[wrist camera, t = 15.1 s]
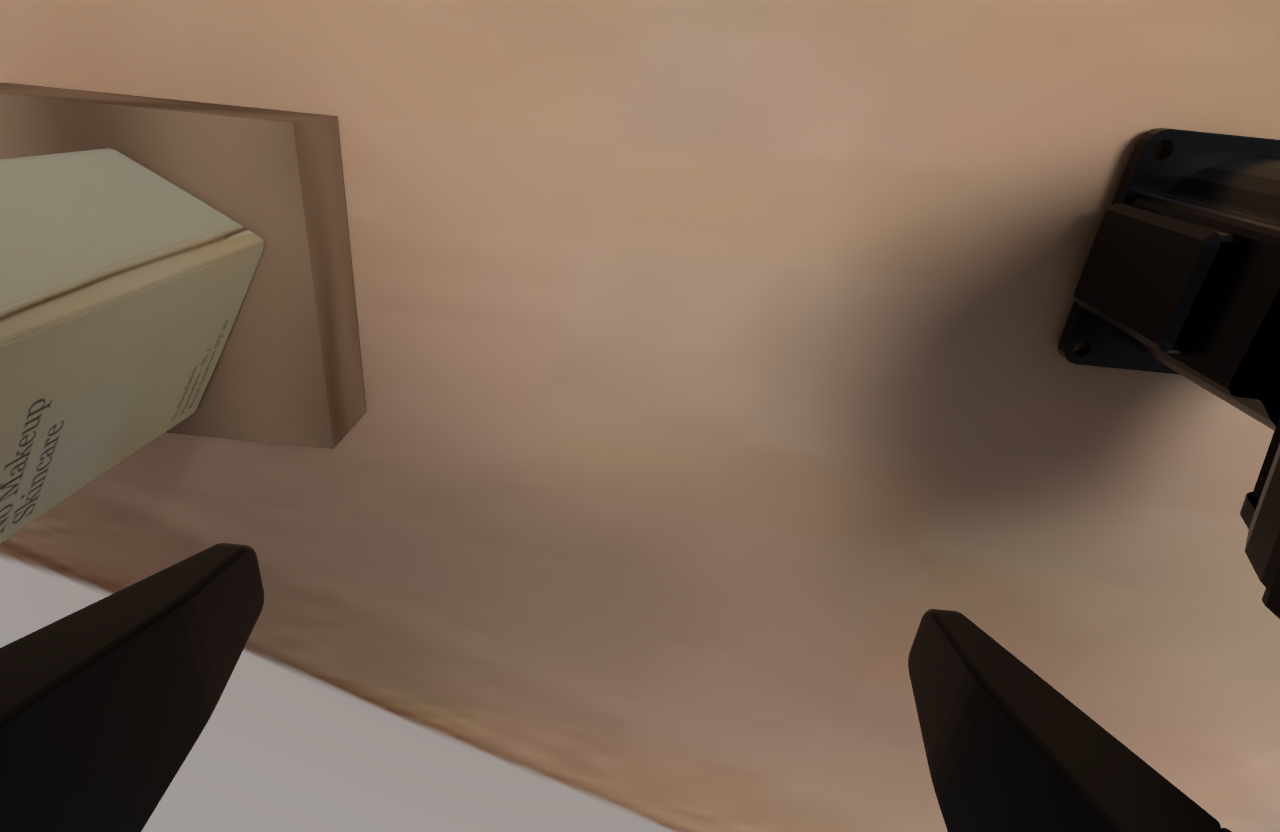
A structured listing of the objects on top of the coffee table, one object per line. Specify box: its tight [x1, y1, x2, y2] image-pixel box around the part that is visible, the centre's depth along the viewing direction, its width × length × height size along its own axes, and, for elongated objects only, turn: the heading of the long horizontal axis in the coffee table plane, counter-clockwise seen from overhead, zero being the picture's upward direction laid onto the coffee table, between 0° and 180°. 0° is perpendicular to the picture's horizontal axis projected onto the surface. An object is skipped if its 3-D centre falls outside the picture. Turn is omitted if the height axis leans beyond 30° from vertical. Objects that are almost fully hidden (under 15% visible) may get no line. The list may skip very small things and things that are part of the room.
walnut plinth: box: [0, 83, 366, 449], centre depth 20 cm, size 9×9×2 cm
